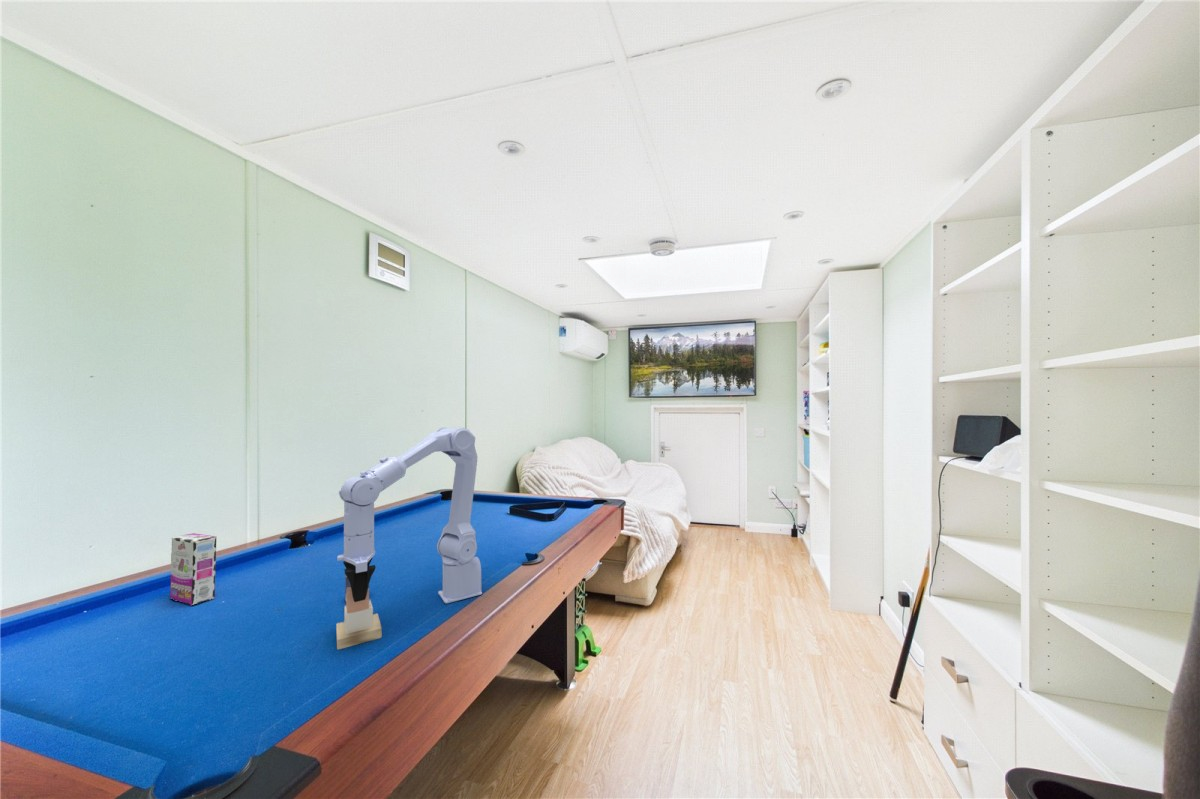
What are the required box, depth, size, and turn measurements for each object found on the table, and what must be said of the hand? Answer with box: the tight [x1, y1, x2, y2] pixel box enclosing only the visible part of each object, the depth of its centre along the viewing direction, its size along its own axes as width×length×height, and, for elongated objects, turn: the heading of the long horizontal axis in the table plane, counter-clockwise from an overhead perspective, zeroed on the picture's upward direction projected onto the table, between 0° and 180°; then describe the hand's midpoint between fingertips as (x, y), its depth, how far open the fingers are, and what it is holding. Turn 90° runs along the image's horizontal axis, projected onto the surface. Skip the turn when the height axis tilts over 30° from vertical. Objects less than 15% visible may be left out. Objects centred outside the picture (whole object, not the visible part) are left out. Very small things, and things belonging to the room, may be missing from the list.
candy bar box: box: [169, 532, 217, 606], centre depth 109 cm, size 11×5×16 cm, turn 68°
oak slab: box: [335, 613, 383, 651], centre depth 89 cm, size 8×8×2 cm
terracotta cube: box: [345, 586, 370, 613], centre depth 89 cm, size 4×4×4 cm
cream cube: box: [343, 599, 374, 634], centre depth 89 cm, size 5×5×4 cm
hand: (358, 595), depth 90 cm, fingers open, 5 cm apart
